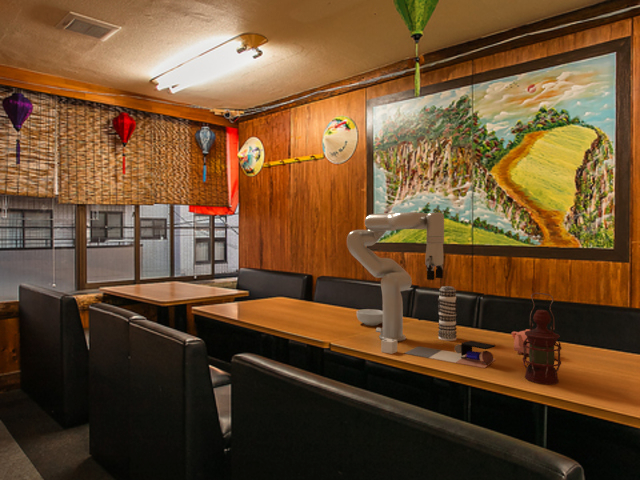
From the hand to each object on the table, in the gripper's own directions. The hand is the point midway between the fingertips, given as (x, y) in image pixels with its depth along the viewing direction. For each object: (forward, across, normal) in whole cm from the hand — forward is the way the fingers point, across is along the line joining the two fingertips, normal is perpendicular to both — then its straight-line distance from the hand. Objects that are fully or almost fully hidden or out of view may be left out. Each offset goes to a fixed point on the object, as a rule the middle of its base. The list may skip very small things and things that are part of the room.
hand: (434, 278), depth 196 cm
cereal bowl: (+31, -25, -47) cm, 61 cm away
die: (+30, +20, -12) cm, 38 cm away
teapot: (+31, -13, +36) cm, 49 cm away
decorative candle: (+31, -18, -1) cm, 35 cm away
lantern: (+31, +20, +47) cm, 59 cm away
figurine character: (+30, +12, +22) cm, 39 cm away
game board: (+30, +12, +11) cm, 34 cm away
